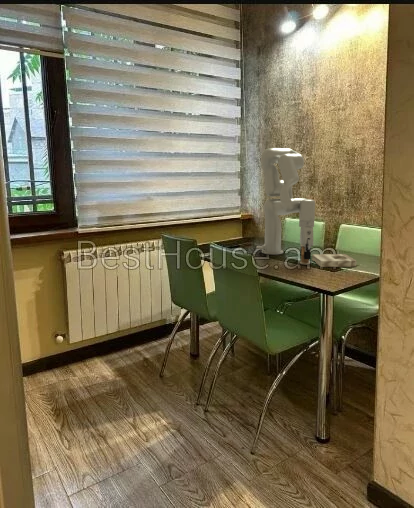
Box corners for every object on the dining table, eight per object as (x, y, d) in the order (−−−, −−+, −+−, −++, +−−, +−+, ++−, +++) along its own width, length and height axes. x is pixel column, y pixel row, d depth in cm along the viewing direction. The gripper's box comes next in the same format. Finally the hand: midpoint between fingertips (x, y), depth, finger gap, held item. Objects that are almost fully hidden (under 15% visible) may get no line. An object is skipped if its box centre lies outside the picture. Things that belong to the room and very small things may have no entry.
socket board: (320, 266, 206) (321, 261, 206) (312, 259, 222) (312, 254, 221) (356, 266, 206) (356, 260, 206) (345, 259, 222) (345, 254, 222)
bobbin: (301, 264, 211) (301, 245, 209) (298, 262, 216) (299, 243, 214) (311, 264, 211) (312, 245, 209) (308, 262, 217) (309, 243, 214)
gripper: (318, 226, 201) (316, 261, 205) (309, 221, 218) (308, 254, 222) (303, 226, 201) (302, 261, 205) (295, 221, 218) (294, 254, 222)
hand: (305, 257), depth 213 cm, fingers open, 7 cm apart
